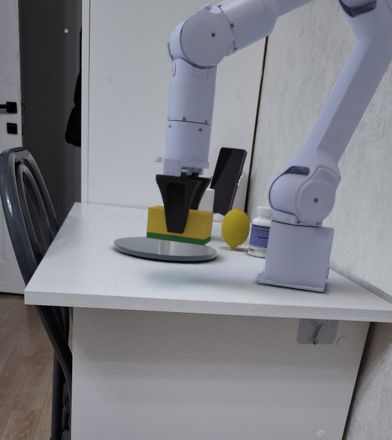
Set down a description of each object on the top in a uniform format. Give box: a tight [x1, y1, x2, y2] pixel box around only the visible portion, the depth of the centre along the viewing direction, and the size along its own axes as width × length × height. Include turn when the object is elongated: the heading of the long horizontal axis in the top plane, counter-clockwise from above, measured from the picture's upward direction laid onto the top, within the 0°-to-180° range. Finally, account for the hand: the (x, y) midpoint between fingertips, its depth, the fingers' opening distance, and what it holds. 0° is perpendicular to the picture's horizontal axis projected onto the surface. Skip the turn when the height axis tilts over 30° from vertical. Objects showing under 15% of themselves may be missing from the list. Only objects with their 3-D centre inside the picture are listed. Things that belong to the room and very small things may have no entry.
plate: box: [113, 236, 218, 262], centre depth 95 cm, size 18×18×1 cm
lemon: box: [220, 207, 251, 250], centre depth 106 cm, size 6×6×8 cm
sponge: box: [145, 204, 214, 246], centre depth 74 cm, size 8×4×4 cm, turn 77°
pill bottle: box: [247, 205, 273, 259], centre depth 102 cm, size 5×5×9 cm
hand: (179, 230), depth 74 cm, fingers closed on sponge, 4 cm apart
